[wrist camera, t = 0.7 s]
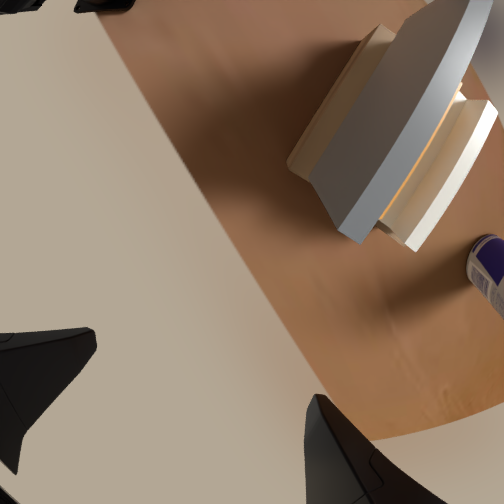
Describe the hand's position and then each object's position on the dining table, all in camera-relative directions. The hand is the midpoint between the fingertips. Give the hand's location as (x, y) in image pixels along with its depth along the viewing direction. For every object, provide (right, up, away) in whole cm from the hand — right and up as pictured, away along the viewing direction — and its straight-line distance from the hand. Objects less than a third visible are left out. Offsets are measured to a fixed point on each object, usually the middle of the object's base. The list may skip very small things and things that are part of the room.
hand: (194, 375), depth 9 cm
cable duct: (+11, +11, +4) cm, 16 cm away
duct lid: (+7, +10, -2) cm, 13 cm away
